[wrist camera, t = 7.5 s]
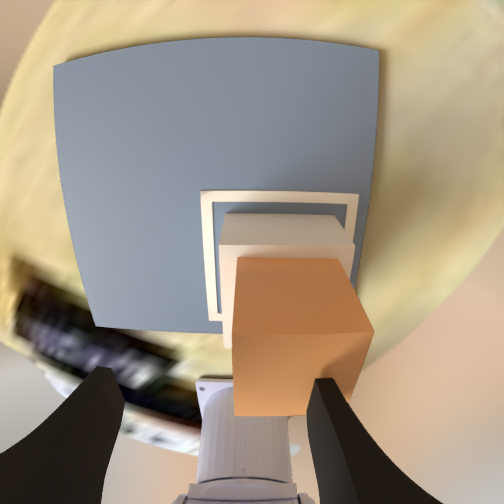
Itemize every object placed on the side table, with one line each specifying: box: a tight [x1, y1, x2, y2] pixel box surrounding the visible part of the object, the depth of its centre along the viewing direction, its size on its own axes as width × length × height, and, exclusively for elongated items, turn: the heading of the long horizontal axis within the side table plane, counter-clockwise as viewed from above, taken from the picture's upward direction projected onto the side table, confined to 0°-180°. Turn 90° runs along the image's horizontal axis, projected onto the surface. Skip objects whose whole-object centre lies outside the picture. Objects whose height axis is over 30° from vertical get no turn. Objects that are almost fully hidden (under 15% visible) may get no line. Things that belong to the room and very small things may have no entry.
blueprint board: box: [53, 37, 379, 334], centre depth 17 cm, size 18×18×1 cm
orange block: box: [232, 257, 374, 416], centre depth 12 cm, size 4×4×5 cm
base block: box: [219, 213, 355, 348], centre depth 17 cm, size 6×6×4 cm
